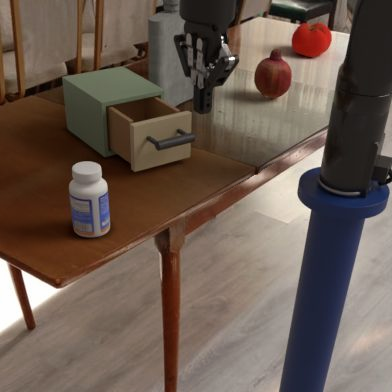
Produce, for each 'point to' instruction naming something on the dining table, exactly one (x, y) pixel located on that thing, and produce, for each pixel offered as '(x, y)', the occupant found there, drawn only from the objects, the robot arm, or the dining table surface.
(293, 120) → the dining table surface
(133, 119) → the drawer
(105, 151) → the cabinet
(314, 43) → the tomato
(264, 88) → the fruit
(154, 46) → the hip flask
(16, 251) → the dining table surface
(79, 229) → the pill bottle
